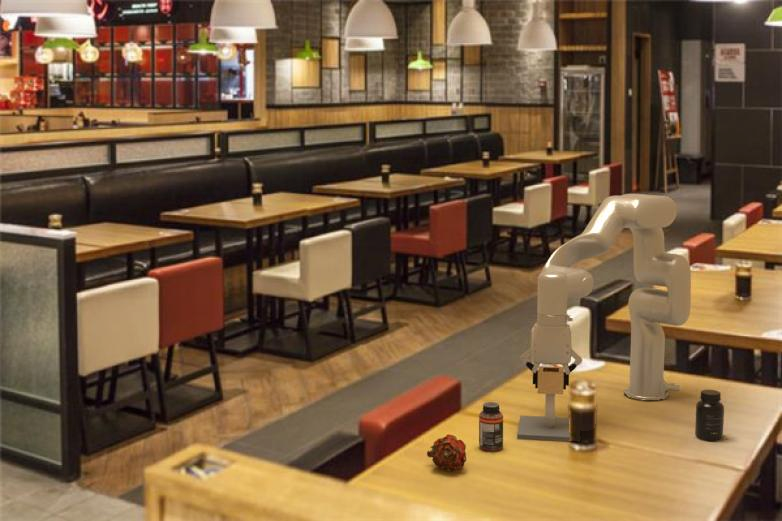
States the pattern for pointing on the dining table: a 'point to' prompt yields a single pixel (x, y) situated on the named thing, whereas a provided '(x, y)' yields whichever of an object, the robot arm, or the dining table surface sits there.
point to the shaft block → (544, 425)
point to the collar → (550, 380)
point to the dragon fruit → (448, 453)
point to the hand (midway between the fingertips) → (550, 387)
